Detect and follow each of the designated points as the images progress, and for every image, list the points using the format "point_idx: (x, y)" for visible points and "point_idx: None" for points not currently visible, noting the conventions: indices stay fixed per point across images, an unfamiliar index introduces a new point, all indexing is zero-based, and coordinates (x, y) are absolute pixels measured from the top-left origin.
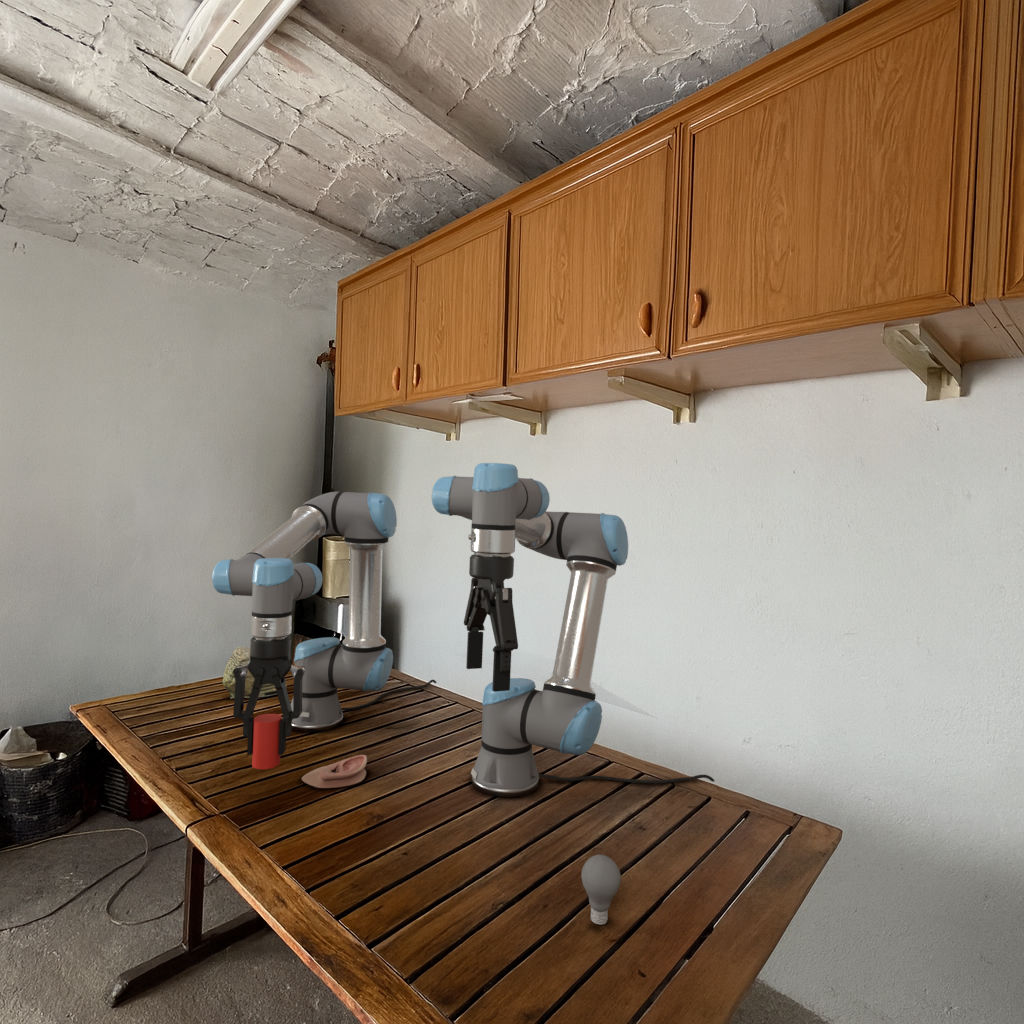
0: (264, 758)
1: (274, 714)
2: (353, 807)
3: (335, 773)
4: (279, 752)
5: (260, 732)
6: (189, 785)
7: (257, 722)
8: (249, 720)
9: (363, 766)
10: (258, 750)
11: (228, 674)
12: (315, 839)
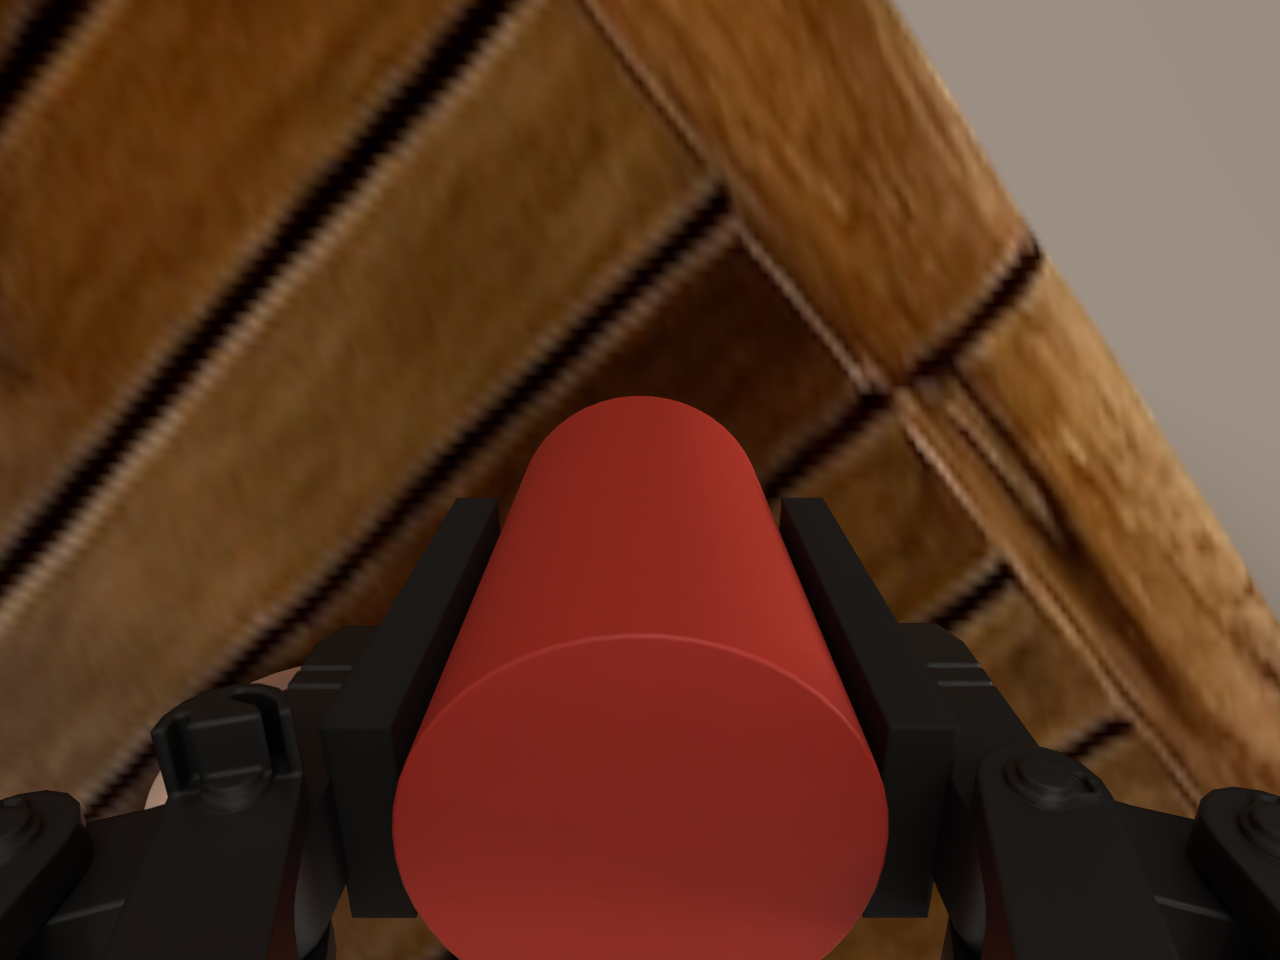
0: (624, 427)
1: None
2: (141, 447)
3: None
4: (483, 505)
5: (695, 550)
6: (1119, 701)
7: (781, 662)
8: (954, 783)
9: (149, 797)
10: (696, 458)
11: None
12: (228, 51)
